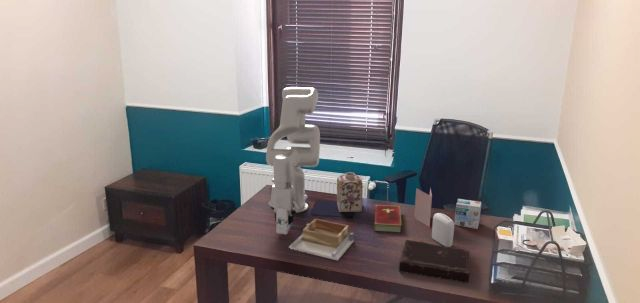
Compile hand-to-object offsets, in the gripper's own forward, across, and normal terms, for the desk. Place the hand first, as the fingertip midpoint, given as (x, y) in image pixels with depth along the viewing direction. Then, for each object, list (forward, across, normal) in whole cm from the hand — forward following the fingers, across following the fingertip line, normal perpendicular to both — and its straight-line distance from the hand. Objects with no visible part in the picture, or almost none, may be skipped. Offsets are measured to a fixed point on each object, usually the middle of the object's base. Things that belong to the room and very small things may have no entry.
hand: (284, 221), depth 198 cm
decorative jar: (+7, +15, +38) cm, 42 cm away
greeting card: (+7, +52, +38) cm, 65 cm away
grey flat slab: (+6, +19, -2) cm, 20 cm away
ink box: (+4, 0, 0) cm, 4 cm away
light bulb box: (+7, +71, +44) cm, 84 cm away
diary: (+6, +65, +2) cm, 66 cm away
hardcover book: (+7, +37, +31) cm, 49 cm away
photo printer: (+6, +64, +22) cm, 68 cm away
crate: (+5, +19, +2) cm, 20 cm away
